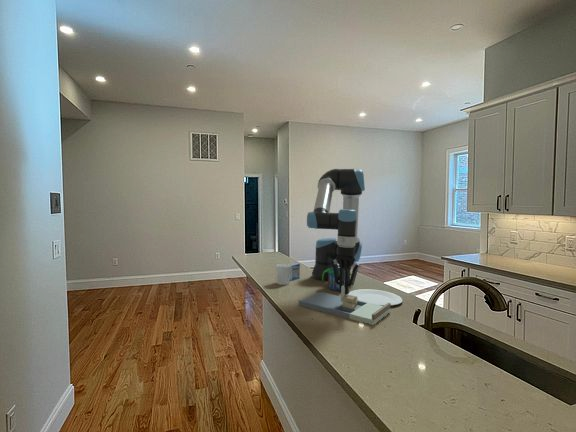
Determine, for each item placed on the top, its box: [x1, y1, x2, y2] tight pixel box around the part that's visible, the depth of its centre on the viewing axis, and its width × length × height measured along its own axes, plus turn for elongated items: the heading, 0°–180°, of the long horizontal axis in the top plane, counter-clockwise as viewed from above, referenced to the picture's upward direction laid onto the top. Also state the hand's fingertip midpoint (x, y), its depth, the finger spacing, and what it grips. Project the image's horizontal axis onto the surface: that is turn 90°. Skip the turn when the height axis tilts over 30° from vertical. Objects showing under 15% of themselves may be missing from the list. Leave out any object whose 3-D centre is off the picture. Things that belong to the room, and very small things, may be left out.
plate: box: [348, 288, 403, 307], centre depth 151 cm, size 25×25×2 cm
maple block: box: [342, 294, 357, 309], centre depth 134 cm, size 4×4×4 cm
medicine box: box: [289, 262, 301, 281], centre depth 185 cm, size 8×4×9 cm, turn 143°
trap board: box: [298, 291, 392, 326], centre depth 136 cm, size 18×34×4 cm, turn 54°
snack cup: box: [321, 267, 352, 291], centre depth 167 cm, size 16×10×10 cm
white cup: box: [275, 263, 291, 286], centre depth 174 cm, size 8×8×10 cm
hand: (343, 301), depth 136 cm, fingers closed
